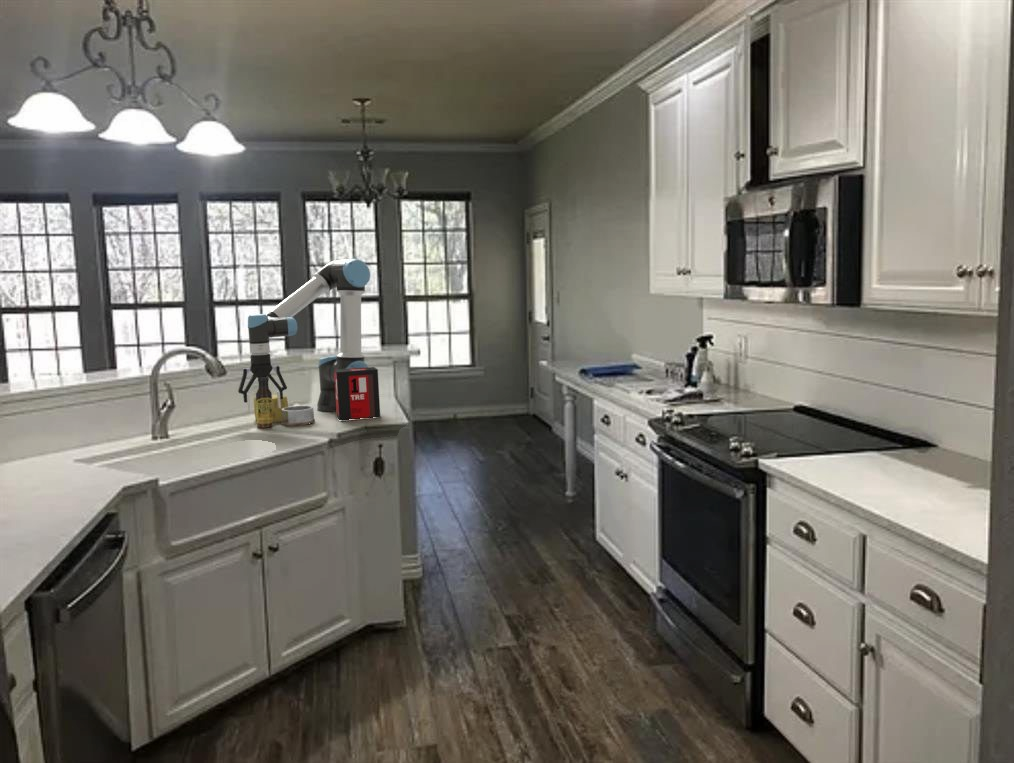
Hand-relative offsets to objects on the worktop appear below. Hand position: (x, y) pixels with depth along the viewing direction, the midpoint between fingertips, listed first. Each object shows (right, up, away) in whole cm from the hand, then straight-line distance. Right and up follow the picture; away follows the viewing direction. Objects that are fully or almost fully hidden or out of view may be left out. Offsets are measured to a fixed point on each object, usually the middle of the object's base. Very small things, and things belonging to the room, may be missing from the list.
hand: (264, 409), depth 338 cm
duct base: (+12, -6, +7) cm, 15 cm away
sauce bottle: (0, -7, +1) cm, 7 cm away
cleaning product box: (+35, -4, +14) cm, 38 cm away
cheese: (-1, -5, +15) cm, 16 cm away
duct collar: (+12, -6, +7) cm, 15 cm away
